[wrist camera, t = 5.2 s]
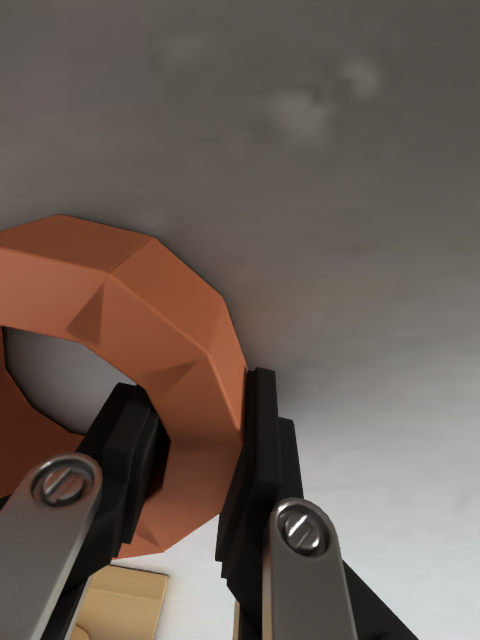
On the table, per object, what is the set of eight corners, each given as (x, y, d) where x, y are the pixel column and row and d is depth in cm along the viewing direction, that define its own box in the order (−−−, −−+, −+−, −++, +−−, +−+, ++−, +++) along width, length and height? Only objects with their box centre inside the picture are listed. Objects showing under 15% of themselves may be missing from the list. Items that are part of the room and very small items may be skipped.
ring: (-73, 181, 9) (-227, 194, 6) (277, 265, 9) (286, 313, 6) (-35, 444, 12) (-117, 526, 10) (212, 493, 13) (199, 584, 10)
